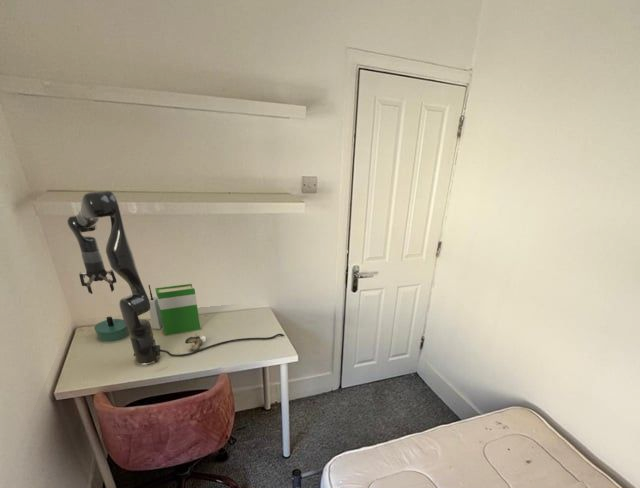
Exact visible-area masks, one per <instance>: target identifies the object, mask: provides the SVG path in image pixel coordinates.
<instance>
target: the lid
mask: <svg viewBox="0 0 640 488" xmlns="http://www.w3.org/2000/svg"><path fill="white" fill-rule="evenodd" d="M105 319H106V320H102V321H100V322H98V323H97V324H95V325H94V331H95V332H99V333H114V332H118V331H121V330H123V329H125V328H126V327H127V326H126V324H125V322H124V319H123V318H122V319H121V318H113V316H107V317H105Z"/></svg>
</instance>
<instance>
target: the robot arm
mask: <svg viewBox="0 0 640 488" xmlns="http://www.w3.org/2000/svg"><path fill="white" fill-rule="evenodd" d="M78 213H79V214H78ZM78 213H77V214H76V215H72V216H69V217H68V218H67V221H66V223H67V226H68V228H69V230H70V231H71V232H72V233H73V235H74V237H75V239H76V241H77V243H78V246H79V250H80V253H81V258H82V262H83V265H84V268H85V272H82V271H81V272H79V273H78V275H79V280H80V284H81V286H82V287H85V288H86V289H87V291H88V293H89V294H90V295H93V294H94V293H93V292H94V291H93V288H92V285H91V284H92V283H93V282H102V281H105V282H106V283H108V284H109V288H110V292H114V291H115V286H114V284H117V278H116V274H117V275H118V276H119V277H120V278H122V280H124V281H125V282H126V283H127V285H128V287H129V289H130V291H131V294H130V295H128V296H125V297H123V298H121V299H119V304H118V305H119V309H120V313H121V316H122V320H124V322H125V324H126V326H127V328H128V331H129V335H128V336H129V339H130V343H131V346H132V351H133V357H134V358H135V362H136V364H138V365H139V366H140V365H142V366H150V365H154V364H155V363H159V357H161V353H165V354H167V355H168V356H171V357H185V356H186V357H187V356H191V355H195V354H196V353H199V352H202V351H205V350H207V349H210V348H214V347H216V346H219V345H223V344H227V343H233V342H238V341H250V340H251V341H252V340H271V339H274V338H276V337H278V336H281V337H285V335H284V334H282V333H277V334H275V335H272V336H269V337H245V338H244V337H243V338H235V339H230V340H225V341H224V340H223V341H221V342H218V343H214V344H211V345H208V346H205V347H203V348H199V350H197V351H190V352H187V353H182V354H173V353H171V352H170V351H168V350H165V349H161V345H160V344H157V343H156V340H155V338H154V334H153V328H152V324H151V322H150V321H149V320H148V319H144V318H139V317H140V316H141V315H144V314H146V313H148V312H149V310H150V301H149V299H150V297H149V296H148V294H147V291H146V290H145V286H144V284H143V282H142V280H141V276H140V274H139V271H138V268H137V265H136V260H135V257H134V254H133V251H132V247H131V246H130V242H129V239H128V236H127V234H126V233H127V232H126V230H125V226H124V221H123V217H122V212H121V209H120V205H119V202H118V199H117V197H116V196H115V194H114V192H112V191H111V190H101V191H94V192H93V191H92V192H91V191H90V192H87V193H84V194H83V195H82V198H81V201H80V210H79V211H78ZM108 217H109V218H110V224H111V225H110V234H109V236H108V240H107V242H106V247H105V254H106V257H107V260H108V263H109V267H110V268H111V269H110V270H106V268H105V265H104V260H103V257H102V253H101V252H100V249H99V245H98V241H97V239H96V237H94V236H90V235H83V233H89V232H90V233H91V232H94V231H96V230H97V224H98V222H99V221H100V218H108ZM107 275H109V276H111V278H109V277H108V276H107ZM86 277H87V278H88V281H87V282H85V278H86Z"/></svg>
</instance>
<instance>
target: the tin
mask: <svg viewBox="0 0 640 488" xmlns="http://www.w3.org/2000/svg"><path fill="white" fill-rule="evenodd" d="M95 332H96V331H95ZM95 334H96V336H97V338H98V340H99V341H101V342H105V343H106V342H107V343H108V342H109V343H110V342H117V341H121V340H124V339H126V338H128V337H129V336H130V335H129V331H128V328H127V327H126V328H125V329H123V330H121V331H118V332H114V333H99V332H96V333H95Z"/></svg>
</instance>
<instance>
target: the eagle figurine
mask: <svg viewBox="0 0 640 488" xmlns="http://www.w3.org/2000/svg"><path fill="white" fill-rule="evenodd" d="M206 340H207V337H206V336H205V335H201V336H200V335H197V333H195V336H189V337H187V338H186V339H185V342H184V344H186V345H188V344H189V345H190V344H192V347H191V348H190V349H189V350H190V352H194V351H197V350H199V349H201V347H202V346H203V343H205V342H206Z"/></svg>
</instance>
